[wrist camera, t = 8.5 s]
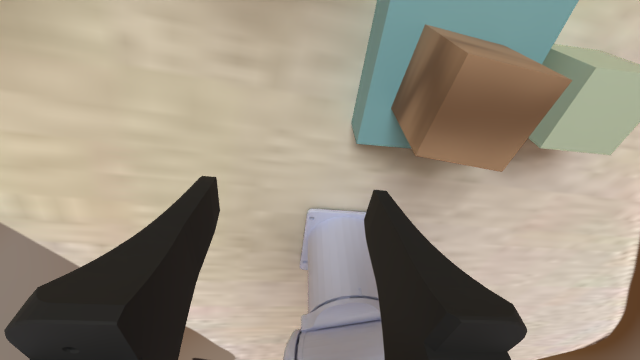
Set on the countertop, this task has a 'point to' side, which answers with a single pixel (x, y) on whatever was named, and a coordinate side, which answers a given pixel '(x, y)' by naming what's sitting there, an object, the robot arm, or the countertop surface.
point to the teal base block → (453, 15)
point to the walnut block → (472, 99)
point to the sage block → (590, 102)
